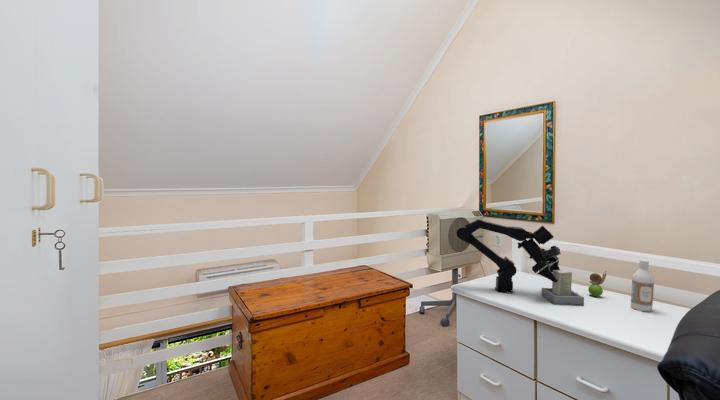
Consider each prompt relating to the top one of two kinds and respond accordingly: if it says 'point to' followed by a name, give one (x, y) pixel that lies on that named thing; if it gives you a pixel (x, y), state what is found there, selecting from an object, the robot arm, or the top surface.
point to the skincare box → (562, 283)
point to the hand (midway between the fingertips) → (559, 280)
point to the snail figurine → (596, 284)
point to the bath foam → (642, 288)
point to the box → (562, 298)
